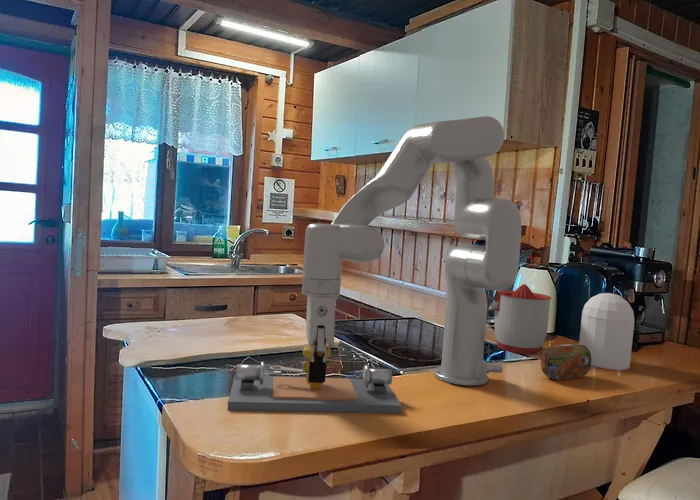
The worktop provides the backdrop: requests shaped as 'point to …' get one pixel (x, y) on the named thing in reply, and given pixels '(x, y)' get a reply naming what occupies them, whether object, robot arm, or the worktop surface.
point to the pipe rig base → (312, 396)
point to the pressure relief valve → (304, 365)
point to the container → (608, 331)
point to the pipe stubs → (369, 377)
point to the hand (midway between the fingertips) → (315, 376)
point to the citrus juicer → (521, 320)
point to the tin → (566, 361)
